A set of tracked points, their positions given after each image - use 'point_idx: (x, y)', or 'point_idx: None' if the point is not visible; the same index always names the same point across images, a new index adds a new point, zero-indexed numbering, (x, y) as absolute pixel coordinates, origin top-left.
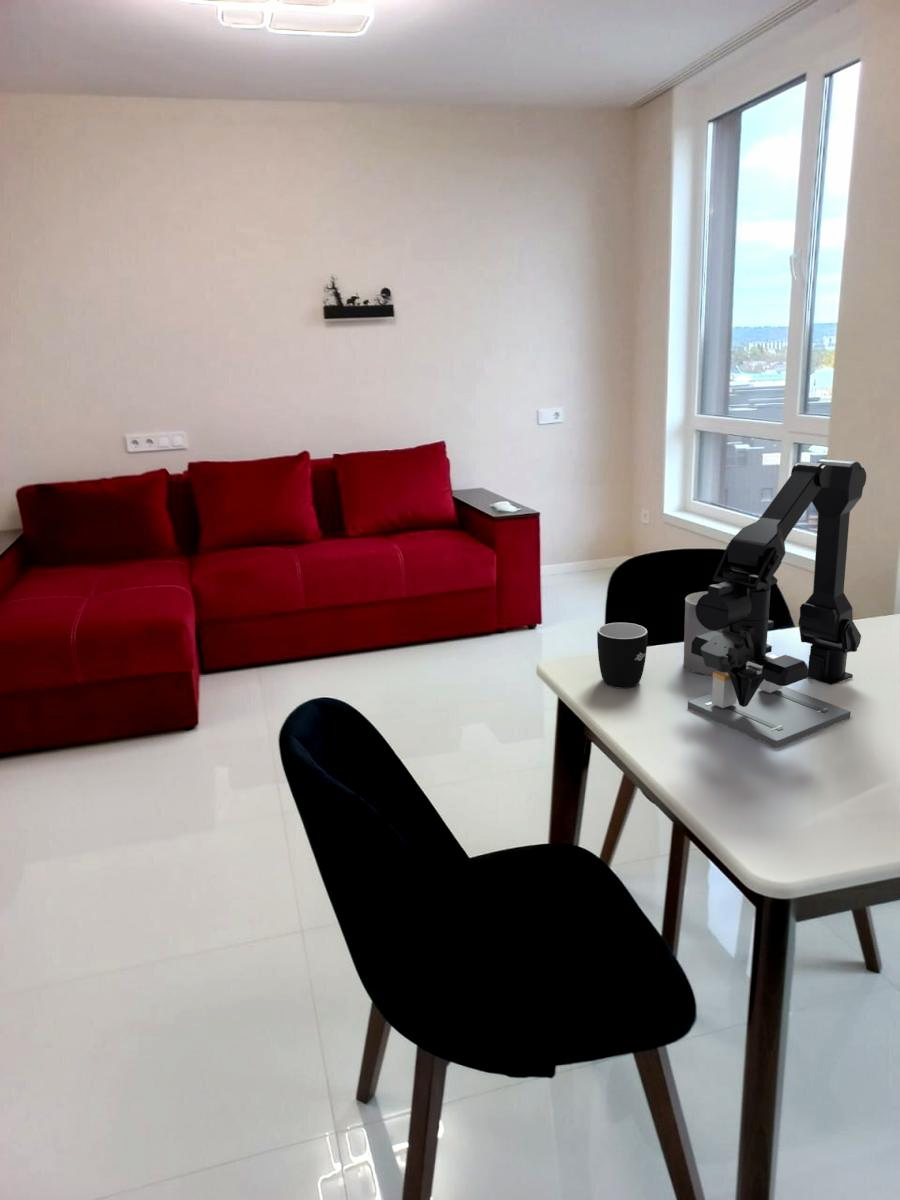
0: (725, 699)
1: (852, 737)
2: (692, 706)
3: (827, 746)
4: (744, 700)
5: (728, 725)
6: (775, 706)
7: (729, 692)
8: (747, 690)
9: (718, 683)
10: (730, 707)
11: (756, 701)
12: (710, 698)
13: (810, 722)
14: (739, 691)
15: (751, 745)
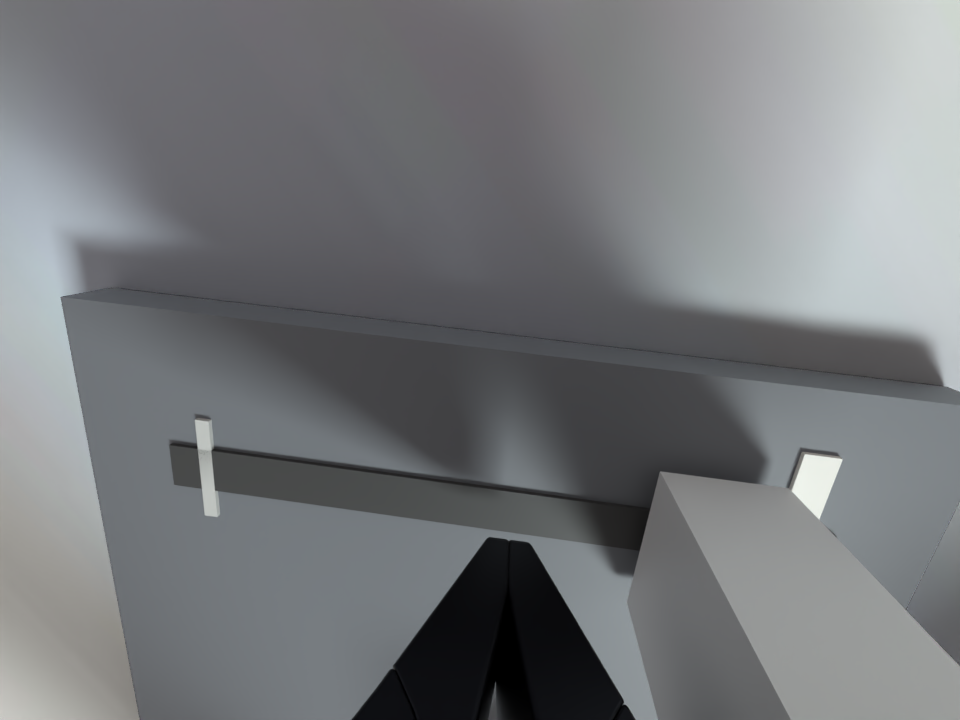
0: (677, 544)
1: (40, 660)
2: (919, 391)
3: (11, 510)
4: (459, 576)
5: (518, 337)
6: None
7: (685, 638)
8: (382, 691)
9: (876, 685)
10: (631, 532)
11: None
12: None
13: (165, 654)
14: (522, 654)
15: (221, 194)
